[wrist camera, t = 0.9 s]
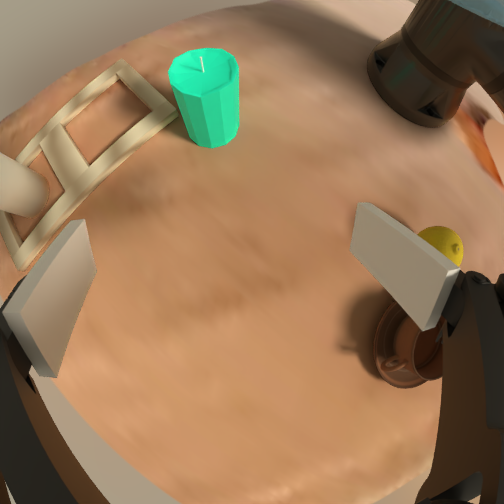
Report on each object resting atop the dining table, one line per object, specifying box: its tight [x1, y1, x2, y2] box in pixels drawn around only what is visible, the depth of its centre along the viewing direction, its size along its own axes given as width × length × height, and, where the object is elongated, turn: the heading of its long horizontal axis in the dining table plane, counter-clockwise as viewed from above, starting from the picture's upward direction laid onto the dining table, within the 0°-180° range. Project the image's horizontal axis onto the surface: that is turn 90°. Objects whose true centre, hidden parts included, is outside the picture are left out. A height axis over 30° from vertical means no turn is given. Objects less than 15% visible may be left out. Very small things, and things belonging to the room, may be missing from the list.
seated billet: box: [0, 152, 49, 218], centre depth 23 cm, size 6×6×12 cm
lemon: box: [417, 226, 463, 267], centre depth 26 cm, size 6×6×8 cm
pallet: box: [0, 59, 179, 271], centre depth 29 cm, size 28×14×2 cm, turn 132°
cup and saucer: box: [373, 300, 446, 389], centre depth 27 cm, size 12×12×6 cm
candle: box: [168, 48, 239, 148], centre depth 25 cm, size 6×6×12 cm
